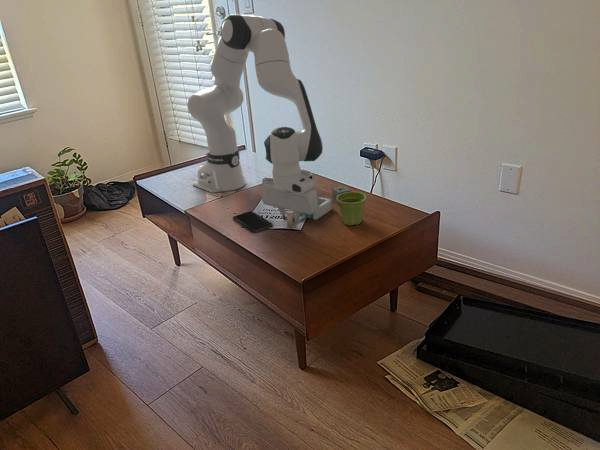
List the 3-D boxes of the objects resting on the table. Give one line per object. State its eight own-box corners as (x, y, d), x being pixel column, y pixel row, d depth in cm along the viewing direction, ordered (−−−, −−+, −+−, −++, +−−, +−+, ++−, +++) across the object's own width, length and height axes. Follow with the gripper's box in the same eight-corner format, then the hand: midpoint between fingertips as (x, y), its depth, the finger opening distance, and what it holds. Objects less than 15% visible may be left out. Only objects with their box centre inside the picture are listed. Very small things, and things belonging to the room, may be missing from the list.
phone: (253, 231, 155) (231, 217, 166) (253, 234, 155) (232, 220, 167) (274, 224, 159) (251, 210, 170) (274, 227, 159) (252, 213, 170)
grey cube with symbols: (332, 201, 175) (332, 188, 173) (345, 198, 176) (344, 185, 174) (338, 206, 171) (338, 192, 168) (351, 203, 172) (351, 189, 170)
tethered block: (282, 225, 159) (280, 205, 156) (307, 210, 169) (305, 191, 166) (295, 228, 156) (293, 208, 153) (319, 213, 166) (317, 194, 163)
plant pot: (358, 230, 152) (358, 204, 148) (332, 225, 157) (331, 200, 153) (371, 218, 159) (371, 194, 155) (345, 214, 164) (344, 190, 160)
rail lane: (293, 214, 166) (292, 204, 165) (310, 204, 174) (309, 194, 172) (316, 219, 161) (315, 209, 160) (332, 208, 168) (332, 199, 167)
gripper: (255, 179, 155) (260, 218, 161) (308, 189, 144) (310, 231, 150) (267, 172, 160) (271, 211, 166) (319, 182, 148) (322, 223, 154)
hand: (290, 220), depth 158 cm, fingers closed on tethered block, 3 cm apart
